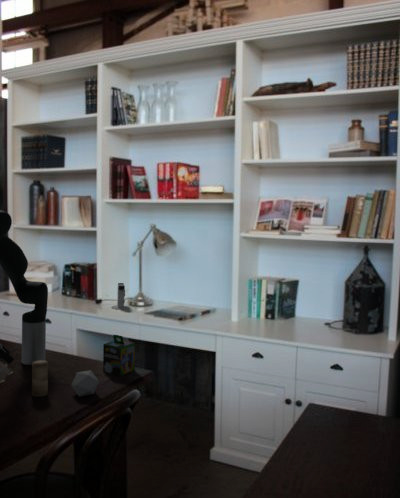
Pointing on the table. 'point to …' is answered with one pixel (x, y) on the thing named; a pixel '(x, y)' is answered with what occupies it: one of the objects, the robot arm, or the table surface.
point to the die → (85, 383)
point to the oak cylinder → (39, 378)
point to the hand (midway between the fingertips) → (9, 357)
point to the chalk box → (119, 356)
